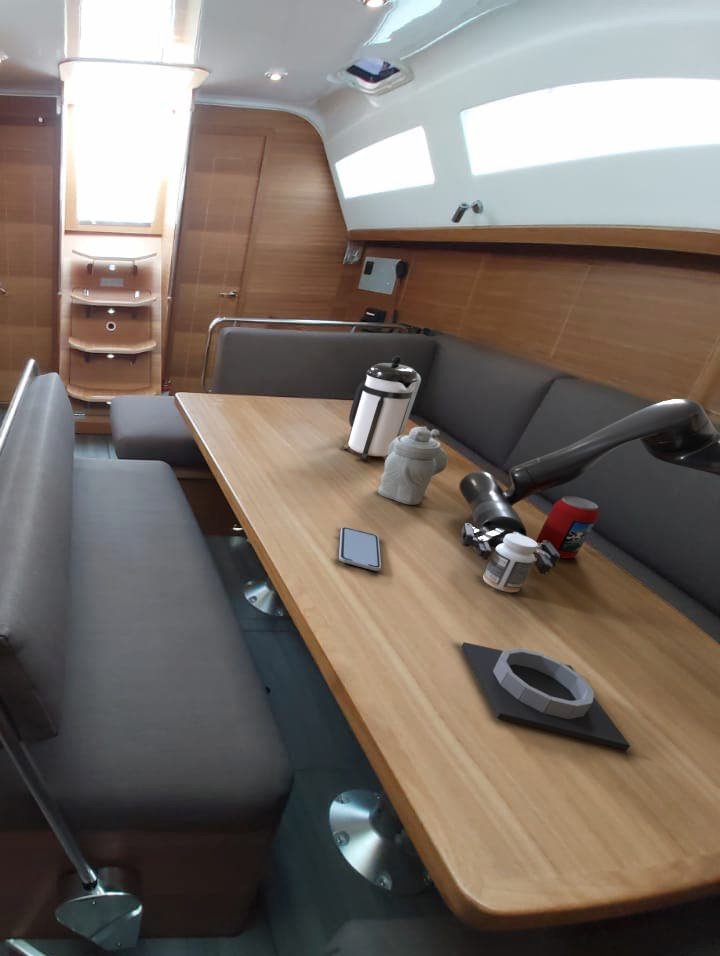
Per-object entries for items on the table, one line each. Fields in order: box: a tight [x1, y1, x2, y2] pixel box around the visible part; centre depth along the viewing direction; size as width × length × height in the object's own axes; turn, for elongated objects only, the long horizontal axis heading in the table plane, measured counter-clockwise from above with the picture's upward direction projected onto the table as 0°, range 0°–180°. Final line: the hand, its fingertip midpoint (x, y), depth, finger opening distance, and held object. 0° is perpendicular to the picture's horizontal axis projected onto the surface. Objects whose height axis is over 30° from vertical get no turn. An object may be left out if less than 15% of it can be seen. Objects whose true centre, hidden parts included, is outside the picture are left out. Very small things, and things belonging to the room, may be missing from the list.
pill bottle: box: [482, 534, 538, 593], centre depth 92 cm, size 6×6×10 cm
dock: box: [461, 641, 631, 751], centre depth 70 cm, size 14×14×4 cm
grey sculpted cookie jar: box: [378, 426, 448, 506], centre depth 125 cm, size 16×15×19 cm
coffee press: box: [341, 355, 418, 462], centre depth 147 cm, size 17×16×30 cm
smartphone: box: [338, 526, 382, 572], centre depth 103 cm, size 7×1×15 cm
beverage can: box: [534, 495, 600, 559], centre depth 103 cm, size 7×7×12 cm
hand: (515, 562), depth 90 cm, fingers open, 8 cm apart
